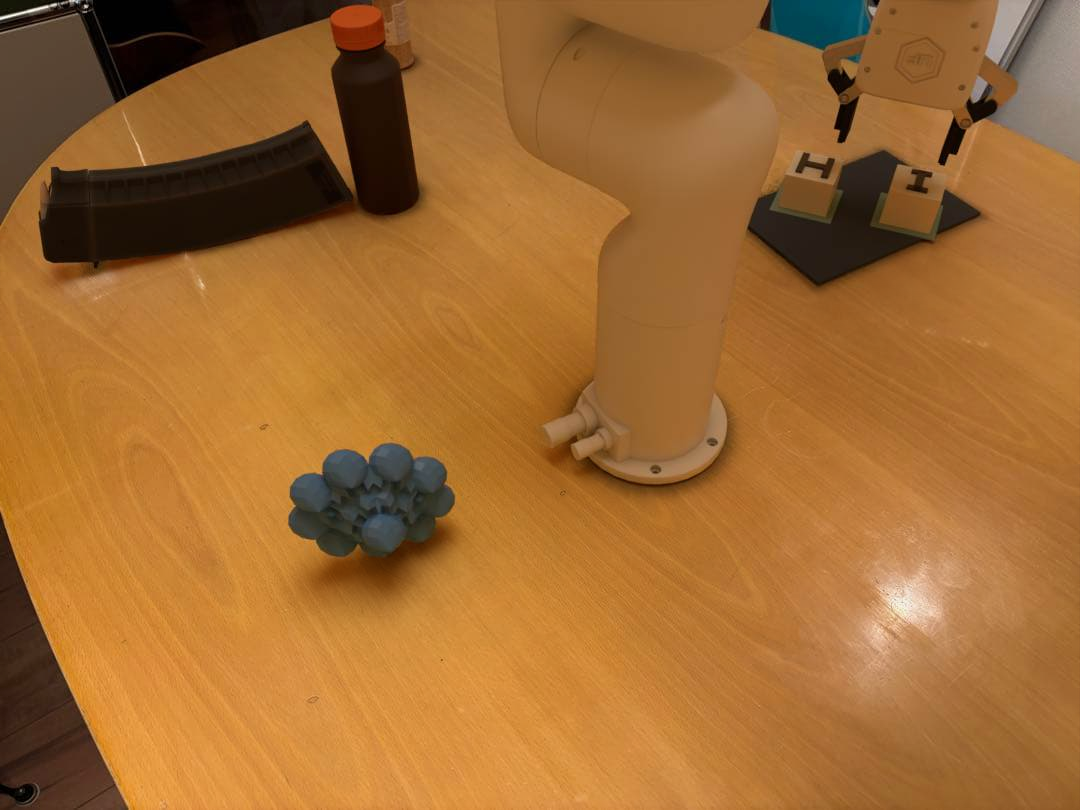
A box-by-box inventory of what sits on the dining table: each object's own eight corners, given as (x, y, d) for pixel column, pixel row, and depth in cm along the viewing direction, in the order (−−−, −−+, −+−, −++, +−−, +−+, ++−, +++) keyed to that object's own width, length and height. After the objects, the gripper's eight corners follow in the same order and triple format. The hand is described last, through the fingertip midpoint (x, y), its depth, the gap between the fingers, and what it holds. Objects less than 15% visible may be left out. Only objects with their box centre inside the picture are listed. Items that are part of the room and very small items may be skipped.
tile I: (929, 234, 88) (942, 198, 85) (878, 222, 90) (890, 187, 87) (936, 207, 92) (949, 172, 88) (887, 196, 93) (898, 161, 90)
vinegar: (346, 195, 96) (306, 14, 81) (398, 172, 99) (368, -7, 84) (379, 223, 93) (342, 39, 78) (431, 199, 95) (406, 17, 81)
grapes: (322, 625, 61) (280, 530, 52) (302, 549, 66) (260, 449, 57) (478, 569, 64) (463, 469, 55) (449, 500, 68) (431, 397, 59)
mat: (824, 291, 84) (825, 288, 83) (720, 205, 93) (720, 201, 93) (987, 220, 91) (988, 216, 90) (874, 146, 100) (875, 143, 100)
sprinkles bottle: (373, 64, 116) (355, -42, 106) (399, 51, 119) (383, -53, 109) (396, 74, 114) (380, -32, 104) (422, 61, 117) (408, -44, 106)
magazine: (357, 117, 90) (22, 96, 77) (364, 132, 88) (21, 113, 75) (340, 255, 101) (45, 256, 88) (347, 271, 99) (45, 276, 86)
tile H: (825, 217, 91) (834, 182, 88) (778, 206, 92) (785, 171, 89) (835, 191, 94) (845, 156, 91) (789, 181, 95) (797, 146, 92)
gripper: (838, -35, 74) (796, 146, 86) (1058, -1, 69) (979, 187, 81) (856, -65, 78) (813, 112, 91) (1064, -34, 73) (988, 148, 86)
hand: (892, 147), depth 86 cm, fingers open, 9 cm apart
